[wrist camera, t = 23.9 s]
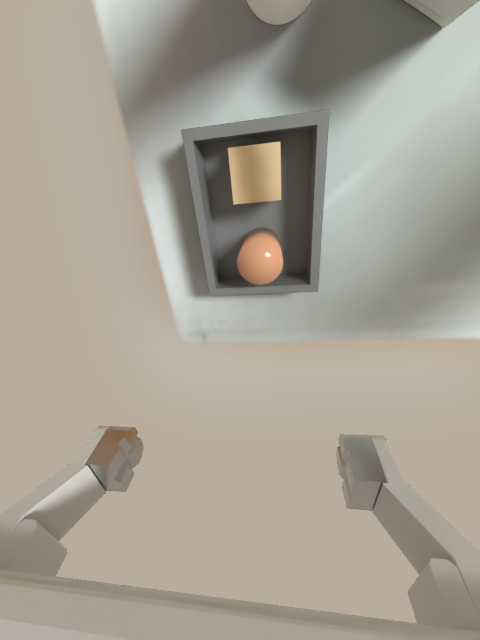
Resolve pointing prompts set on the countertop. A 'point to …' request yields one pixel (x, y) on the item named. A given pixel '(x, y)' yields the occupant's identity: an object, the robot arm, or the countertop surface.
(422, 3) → the supplement box
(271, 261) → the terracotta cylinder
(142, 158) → the countertop surface
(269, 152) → the oak cube
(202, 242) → the tote
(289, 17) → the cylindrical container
